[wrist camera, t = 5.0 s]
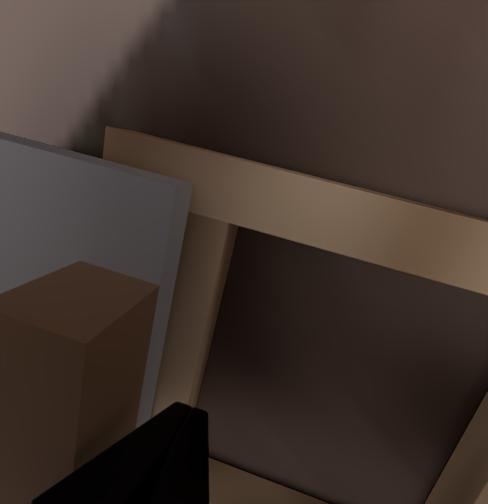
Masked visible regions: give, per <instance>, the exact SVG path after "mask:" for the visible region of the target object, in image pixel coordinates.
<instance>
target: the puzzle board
mask: <svg viewBox="0 0 488 504" xmlns="http://www.w3.org/2000/svg"><path fill="white" fill-rule="evenodd" d="M103 159H104V160H108V161H112V162H115V163H119V164H123V165H127V166H130V167H134V168H138V169H142V170H145V171H149V172H153V173H157V174H160V175H164V176H168V177H172V178H175V179H179V180H183V181H187V182H190V183H194V184H193V189H192V194H191V200H190V205H189V211H188V216H187V222H186V227H185V232H184V238H183V243H182V249H181V254H180V260H179V265H178V271H177V276H176V281H175V287H174V292H173V298H172V303H171V309H170V314H169V320H168V325H167V330H166V336H165V341H164V347H163V352H162V358H161V363H160V368H159V374H158V379H157V385H156V390H155V396H154V401H153V407H152V412H151V417H150V419H151V418H152V417H154V416H155V415H157V414H158V413H160V412H161V411H162V410H164V409H165V408H167V407H168V406H170V405H171V404H173V403H174V402H177V401H179V402H182V403H185V404H187V405H190V406H191V407H196V406H197V402H198V398H199V393H200V389H201V385H202V381H203V376H204V372H205V368H206V364H207V359H208V355H209V351H210V347H211V342H212V338H213V334H214V330H215V325H216V321H217V317H218V312H219V308H220V304H221V300H222V295H223V291H224V287H225V283H226V278H227V274H228V270H229V266H230V261H231V257H232V253H233V249H234V244H235V240H236V236H237V231H238V227H239V226H242V227H245V228H249V229H252V230H256V231H260V232H263V233H267V234H270V235H274V236H277V237H281V238H285V239H288V240H292V241H295V242H299V243H302V244H306V245H310V246H313V247H317V248H320V249H324V250H327V251H331V252H335V253H338V254H342V255H345V256H349V257H353V258H356V259H360V260H363V261H367V262H370V263H374V264H378V265H381V266H385V267H388V268H392V269H395V270H399V271H403V272H406V273H410V274H413V275H417V276H420V277H424V278H428V279H431V280H435V281H438V282H442V283H445V284H449V285H453V286H456V287H460V288H463V289H467V290H471V291H474V292H478V293H481V294H485V295H488V220H487V219H483V218H479V217H475V216H471V215H467V214H464V213H460V212H456V211H452V210H448V209H444V208H440V207H436V206H432V205H428V204H424V203H420V202H416V201H412V200H408V199H404V198H400V197H396V196H392V195H388V194H384V193H380V192H376V191H372V190H368V189H364V188H360V187H356V186H352V185H348V184H344V183H340V182H336V181H332V180H328V179H324V178H320V177H316V176H312V175H308V174H304V173H300V172H296V171H292V170H288V169H284V168H280V167H276V166H272V165H268V164H264V163H260V162H256V161H252V160H248V159H244V158H240V157H236V156H232V155H228V154H224V153H220V152H216V151H213V150H209V149H205V148H201V147H197V146H193V145H189V144H185V143H181V142H177V141H173V140H169V139H165V138H161V137H157V136H153V135H149V134H145V133H141V132H137V131H131V130H125V129H120V128H114V127H108V126H106V128H105V138H104V149H103ZM209 504H329V503H326V502H324V501H321V500H319V499H316V498H313V497H311V496H308V495H305V494H303V493H300V492H298V491H295V490H292V489H290V488H287V487H284V486H282V485H279V484H277V483H274V482H271V481H269V480H266V479H263V478H261V477H258V476H256V475H253V474H250V473H248V472H245V471H242V470H240V469H237V468H235V467H232V466H229V465H227V464H224V463H221V462H219V461H216V460H214V459H211V458H209ZM425 504H488V391H487V393H486V395H485V397H484V398H483V400H482V402H481V404H480V405H479V407H478V409H477V411H476V413H475V414H474V416H473V418H472V420H471V422H470V423H469V425H468V427H467V429H466V430H465V432H464V434H463V436H462V438H461V439H460V441H459V443H458V445H457V447H456V448H455V450H454V452H453V454H452V455H451V457H450V459H449V461H448V463H447V464H446V466H445V468H444V470H443V472H442V473H441V475H440V477H439V479H438V480H437V482H436V484H435V486H434V488H433V489H432V491H431V493H430V495H429V497H428V498H427V500H426V502H425Z"/></svg>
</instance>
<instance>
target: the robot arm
mask: <svg viewBox="0 0 488 504" xmlns="http://www.w3.org/2000/svg"><path fill="white" fill-rule="evenodd" d="M27 504H30V503H27ZM31 504H209V439H208V413H207V412H206V411H204V410H201V409H199V408H196V407H191V406H190V405H187V404H185V403H182V402H179V401H177V402H174V403H173V404H171V405H170V406H168V407H167V408H165V409H164V410H162V411H161V412H160V413H158V414H157V415H155V416H154V417H152V418H151V419H149V420H148V421H146V422H145V423H144V424H142V425H141V426H139V427H138V428H136V429H135V430H133V431H132V432H130V433H129V434H128V435H126V436H125V437H123V438H122V439H120V440H119V441H117V442H116V443H114V444H113V445H112V446H110V447H109V448H107V449H106V450H104V451H103V452H101V453H100V454H98V455H97V456H95V457H94V458H93V459H91V460H90V461H88V462H87V463H85V464H84V465H82V466H81V467H79V468H78V469H77V470H75V471H74V472H72V473H71V474H69V475H68V476H66V477H65V478H63V479H62V480H61V481H59V482H58V483H56V484H55V485H53V486H52V487H50V488H49V489H47V490H46V491H44V492H43V493H42V494H40V495H39V496H37V497H36V498H34V499H33V500H32V501H31Z"/></svg>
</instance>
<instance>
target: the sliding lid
mask: <svg viewBox="0 0 488 504" xmlns="http://www.w3.org/2000/svg"><path fill="white" fill-rule="evenodd" d="M193 184H194V183H190V182H187V181H183V180H179V179H175V178H172V177H168V176H164V175H160V174H157V173H153V172H149V171H145V170H142V169H138V168H134V167H130V166H127V165H123V164H119V163H115V162H112V161H108V160H104V159H100V158H97V157H93V156H89V155H85V154H82V153H78V152H74V151H70V150H67V149H63V148H59V147H56V146H51V145H48V144H44V143H41V142H37V141H33V140H29V139H26V138H22V137H18V136H14V135H10V134H7V133H3V132H0V504H27V503H30V504H31V501H32V500H33V499H34V498H36V497H37V496H39V495H40V494H42V493H43V492H44V491H46V490H47V489H49V488H50V487H52V486H53V485H55V484H56V483H58V482H59V481H61V480H62V479H63V478H65V477H66V476H68V475H69V474H71V473H72V472H74V471H75V470H77V469H78V468H79V467H81V466H82V465H84V464H85V463H87V462H88V461H90V460H91V459H93V458H94V457H95V456H97V455H98V454H100V453H101V452H103V451H104V450H106V449H107V448H109V447H110V446H112V445H113V444H114V443H116V442H117V441H119V440H120V439H122V438H123V437H125V436H126V435H128V434H129V433H130V432H132V431H133V430H135V429H136V428H138V427H139V426H141V425H142V424H144V423H145V422H146V421H148V420H149V419H150V417H151V412H152V407H153V401H154V396H155V390H156V385H157V379H158V374H159V368H160V363H161V358H162V352H163V347H164V341H165V336H166V330H167V325H168V320H169V314H170V309H171V303H172V298H173V292H174V287H175V281H176V276H177V271H178V265H179V260H180V254H181V249H182V243H183V238H184V232H185V227H186V222H187V216H188V211H189V205H190V200H191V194H192V189H193Z"/></svg>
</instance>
